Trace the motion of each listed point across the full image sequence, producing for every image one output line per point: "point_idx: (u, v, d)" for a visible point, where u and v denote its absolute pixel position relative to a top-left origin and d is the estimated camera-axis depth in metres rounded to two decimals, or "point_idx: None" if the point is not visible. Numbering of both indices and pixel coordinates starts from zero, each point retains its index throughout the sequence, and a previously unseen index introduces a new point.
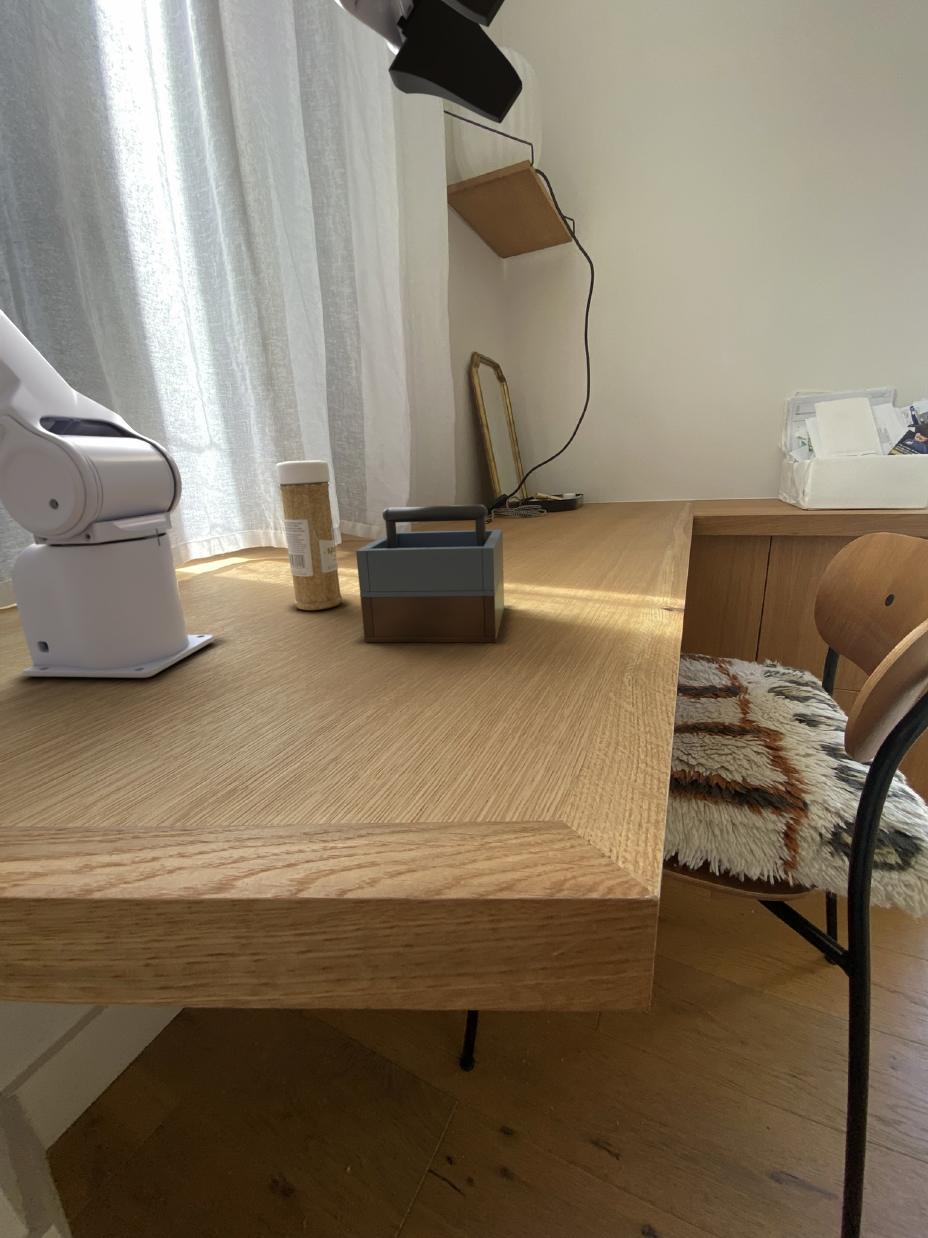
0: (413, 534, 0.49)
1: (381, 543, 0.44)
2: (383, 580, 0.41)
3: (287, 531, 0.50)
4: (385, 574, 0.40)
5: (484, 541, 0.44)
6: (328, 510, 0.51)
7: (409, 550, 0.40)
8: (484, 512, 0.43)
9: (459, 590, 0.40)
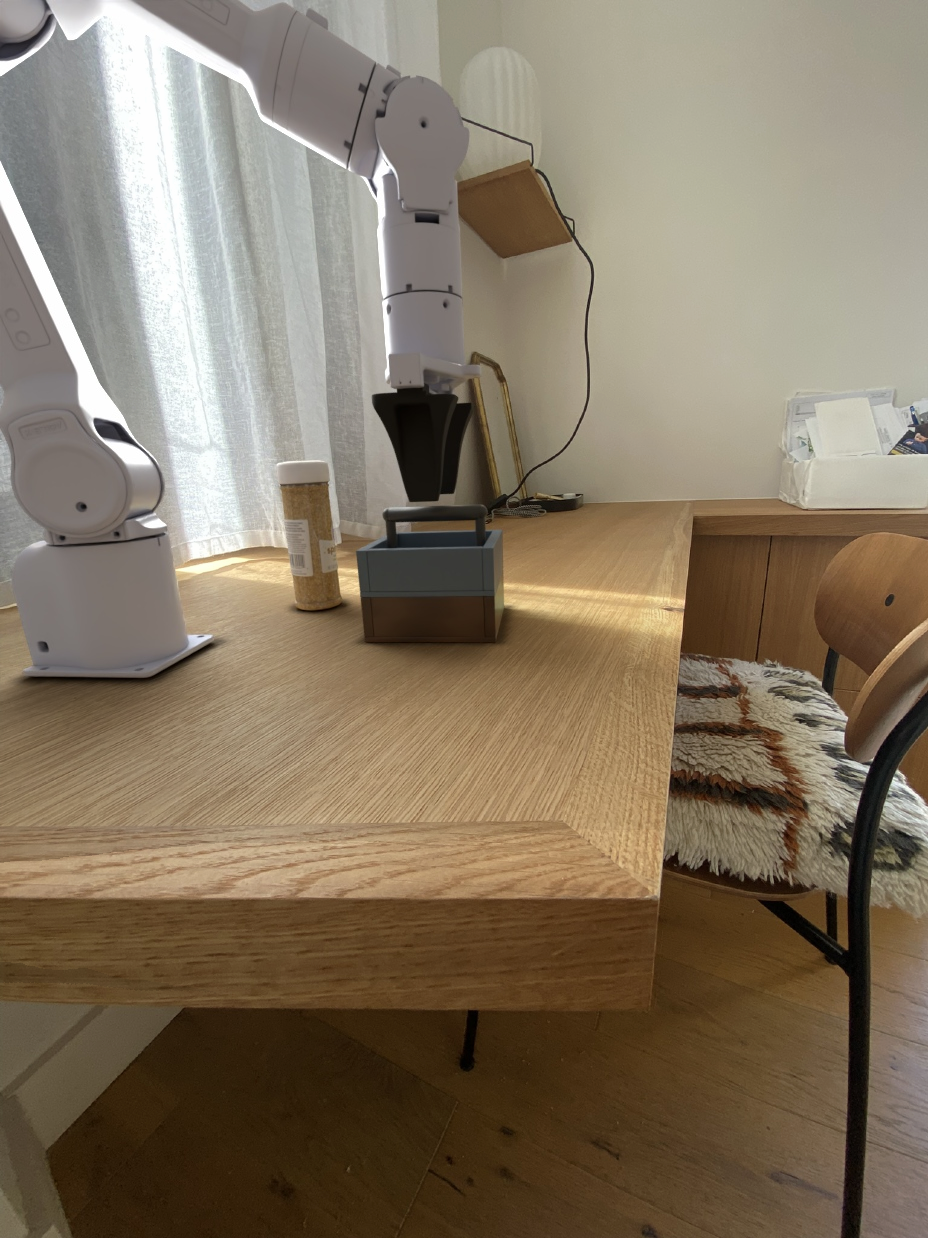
0: (413, 534, 0.49)
1: (381, 543, 0.44)
2: (383, 580, 0.41)
3: (287, 531, 0.50)
4: (385, 574, 0.40)
5: (484, 541, 0.44)
6: (328, 510, 0.51)
7: (409, 550, 0.40)
8: (484, 512, 0.43)
9: (459, 590, 0.40)
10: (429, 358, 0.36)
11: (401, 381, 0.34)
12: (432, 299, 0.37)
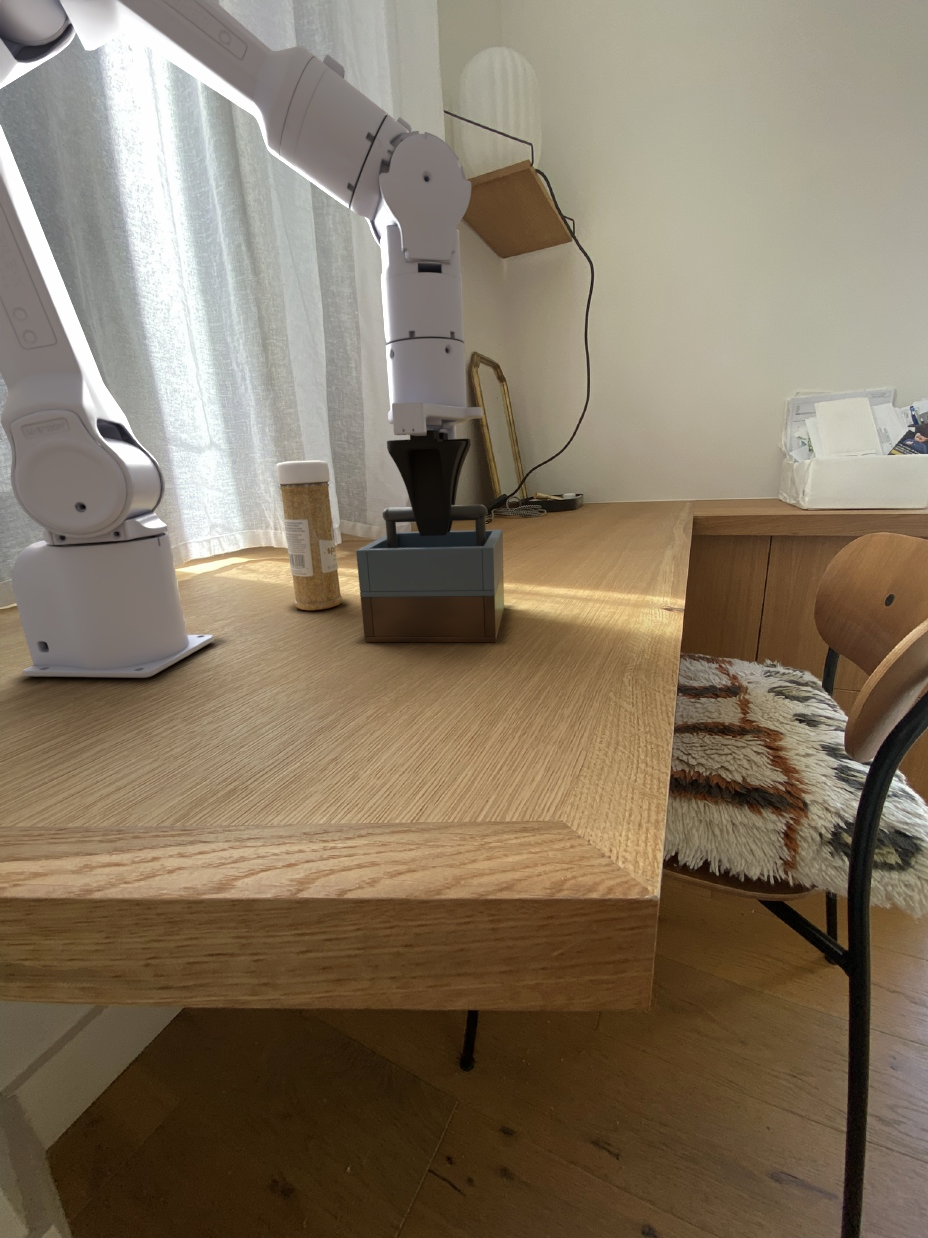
0: (413, 534, 0.49)
1: (381, 543, 0.44)
2: (383, 580, 0.41)
3: (287, 531, 0.50)
4: (385, 574, 0.40)
5: (484, 541, 0.44)
6: (328, 510, 0.51)
7: (409, 550, 0.40)
8: (484, 512, 0.43)
9: (459, 590, 0.40)
10: (432, 405, 0.36)
11: (404, 429, 0.35)
12: (434, 345, 0.38)
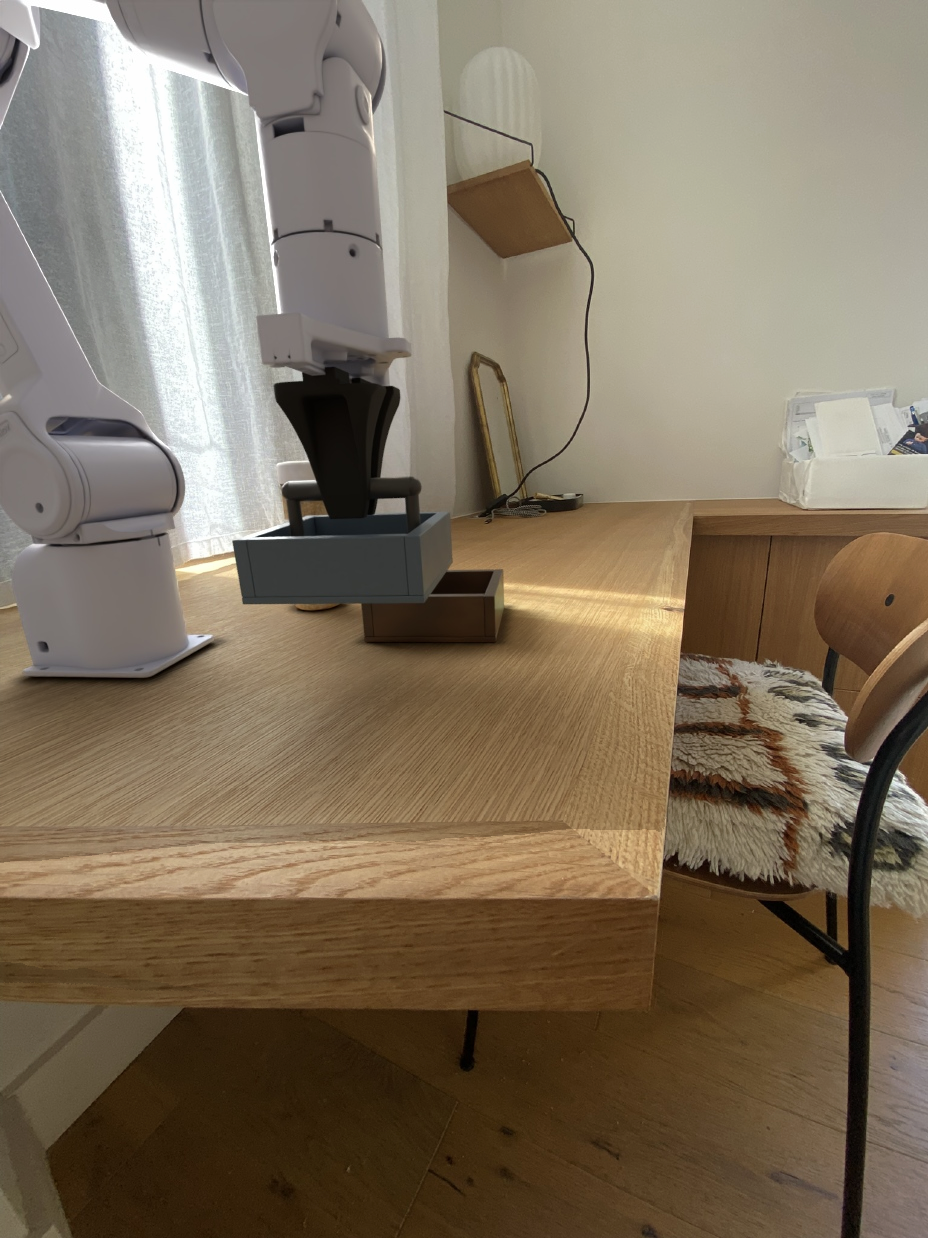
0: None
1: (280, 530, 0.33)
2: (272, 582, 0.29)
3: None
4: (274, 573, 0.29)
5: (418, 526, 0.32)
6: None
7: (304, 539, 0.28)
8: (416, 487, 0.31)
9: (375, 595, 0.29)
10: (322, 324, 0.25)
11: (276, 355, 0.24)
12: (332, 243, 0.27)
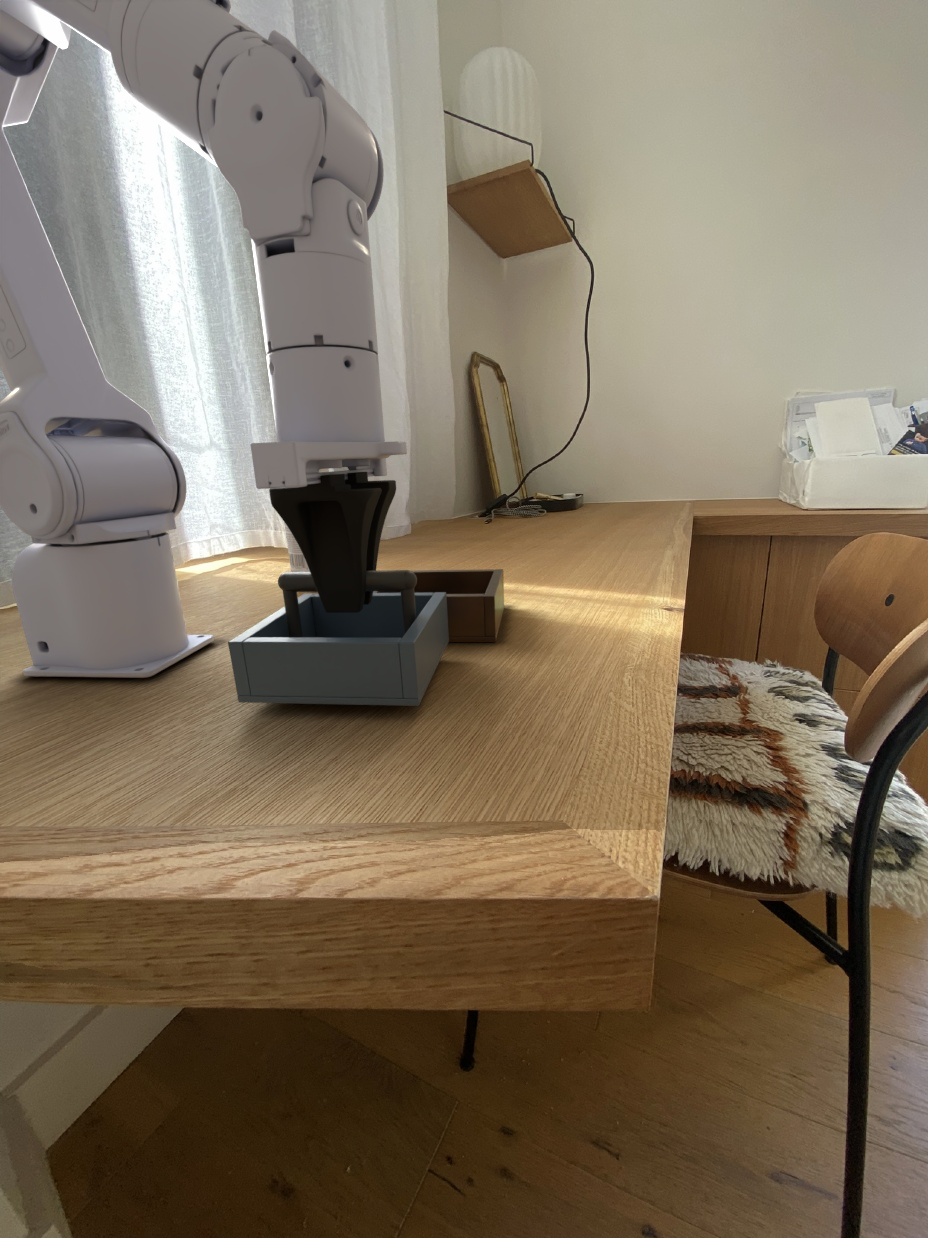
0: None
1: (276, 620, 0.33)
2: (267, 682, 0.29)
3: (287, 531, 0.50)
4: (269, 674, 0.29)
5: (413, 618, 0.32)
6: None
7: (299, 643, 0.29)
8: (411, 581, 0.32)
9: (370, 697, 0.29)
10: (316, 444, 0.25)
11: (271, 481, 0.24)
12: (327, 357, 0.27)
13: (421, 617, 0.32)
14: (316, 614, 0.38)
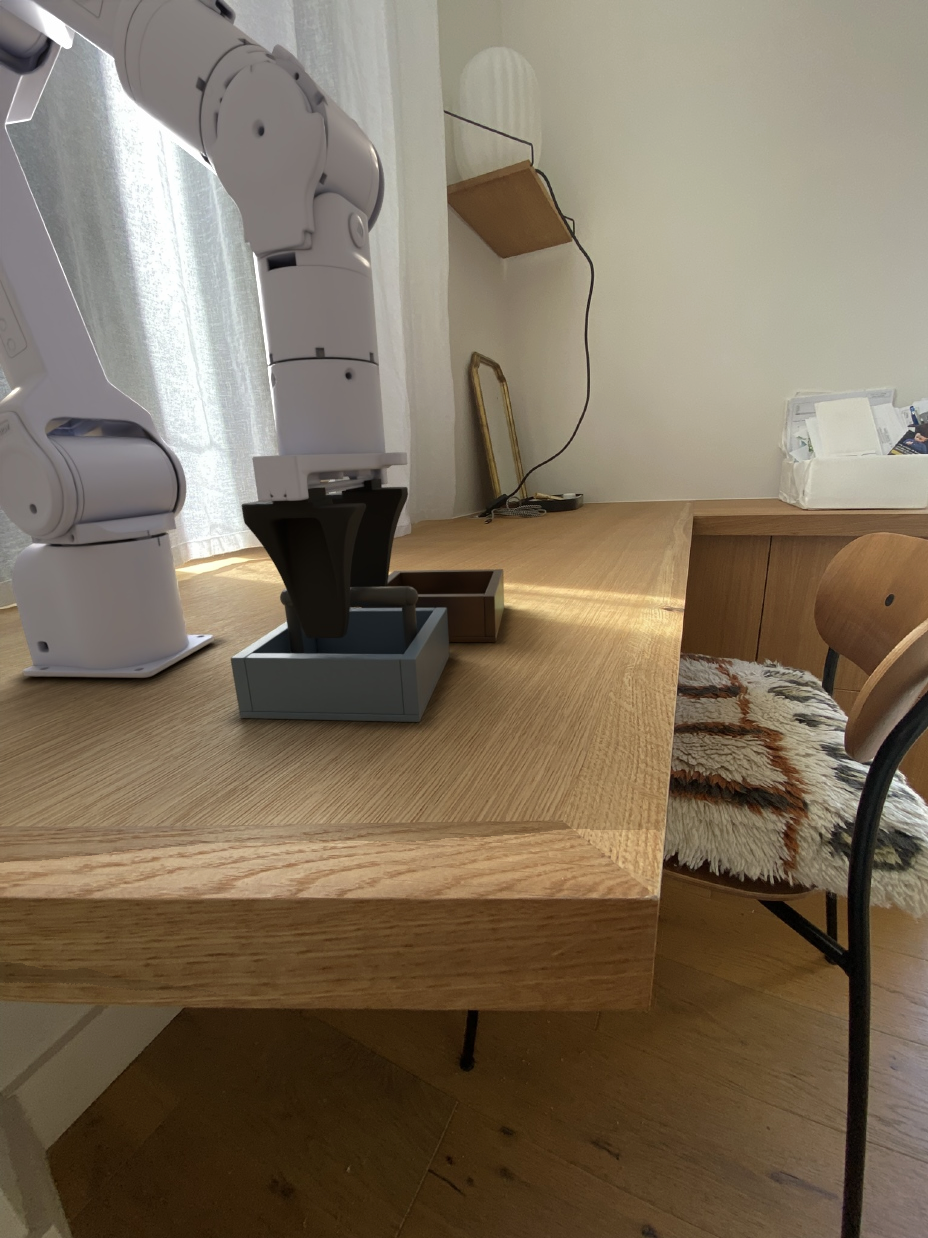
0: None
1: (278, 636, 0.33)
2: (269, 698, 0.30)
3: None
4: (271, 689, 0.30)
5: (414, 634, 0.33)
6: None
7: (301, 659, 0.29)
8: (413, 598, 0.32)
9: (371, 713, 0.29)
10: (317, 457, 0.25)
11: (273, 494, 0.24)
12: (329, 369, 0.27)
13: (422, 633, 0.32)
14: None
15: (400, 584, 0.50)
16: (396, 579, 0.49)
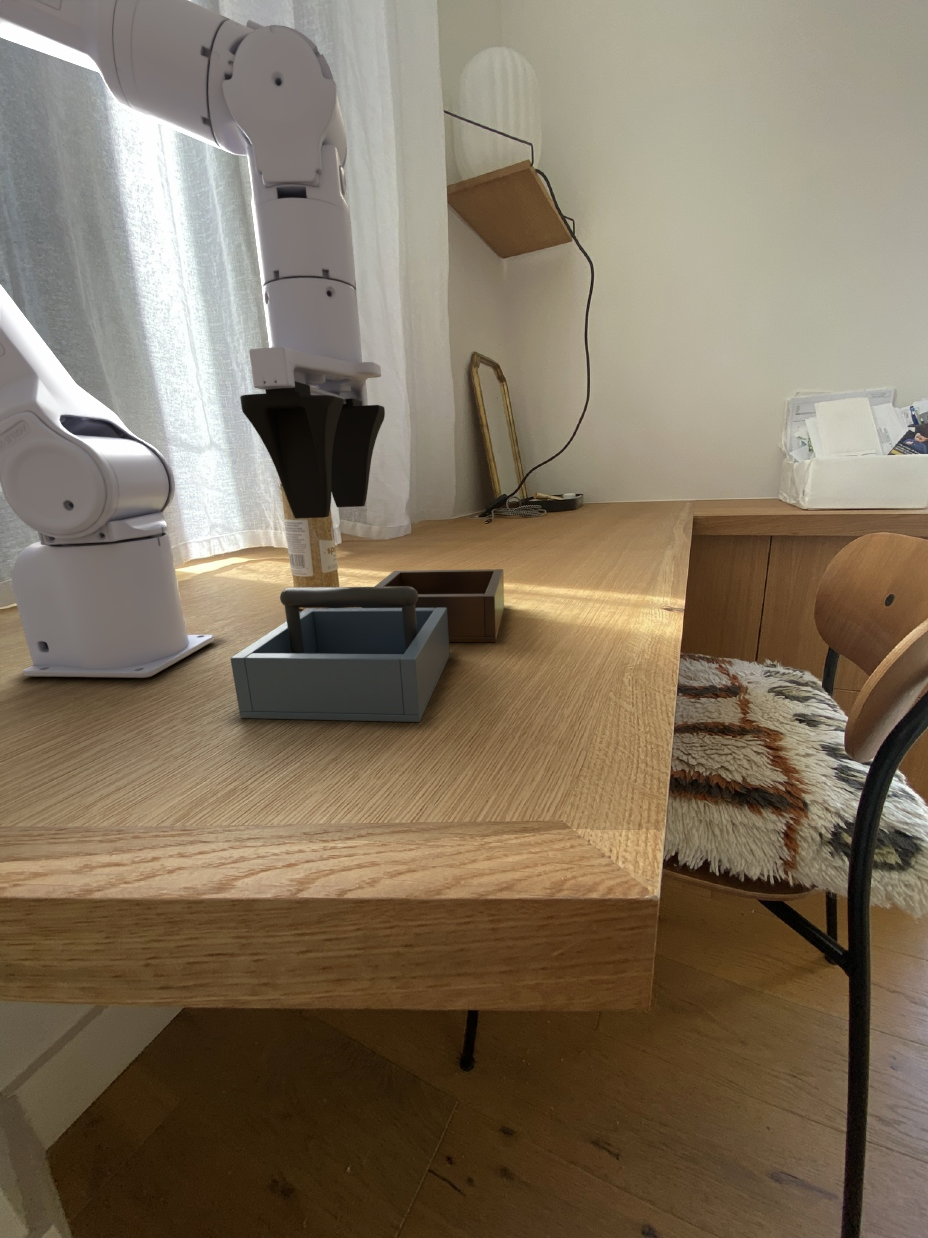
0: (332, 612, 0.38)
1: (278, 636, 0.33)
2: (269, 698, 0.30)
3: (287, 531, 0.50)
4: (271, 689, 0.30)
5: (414, 634, 0.33)
6: None
7: (301, 659, 0.29)
8: (413, 598, 0.32)
9: (371, 713, 0.29)
10: (302, 354, 0.31)
11: (265, 380, 0.30)
12: (312, 287, 0.32)
13: (422, 633, 0.32)
14: (317, 629, 0.38)
15: (400, 584, 0.50)
16: (396, 579, 0.49)
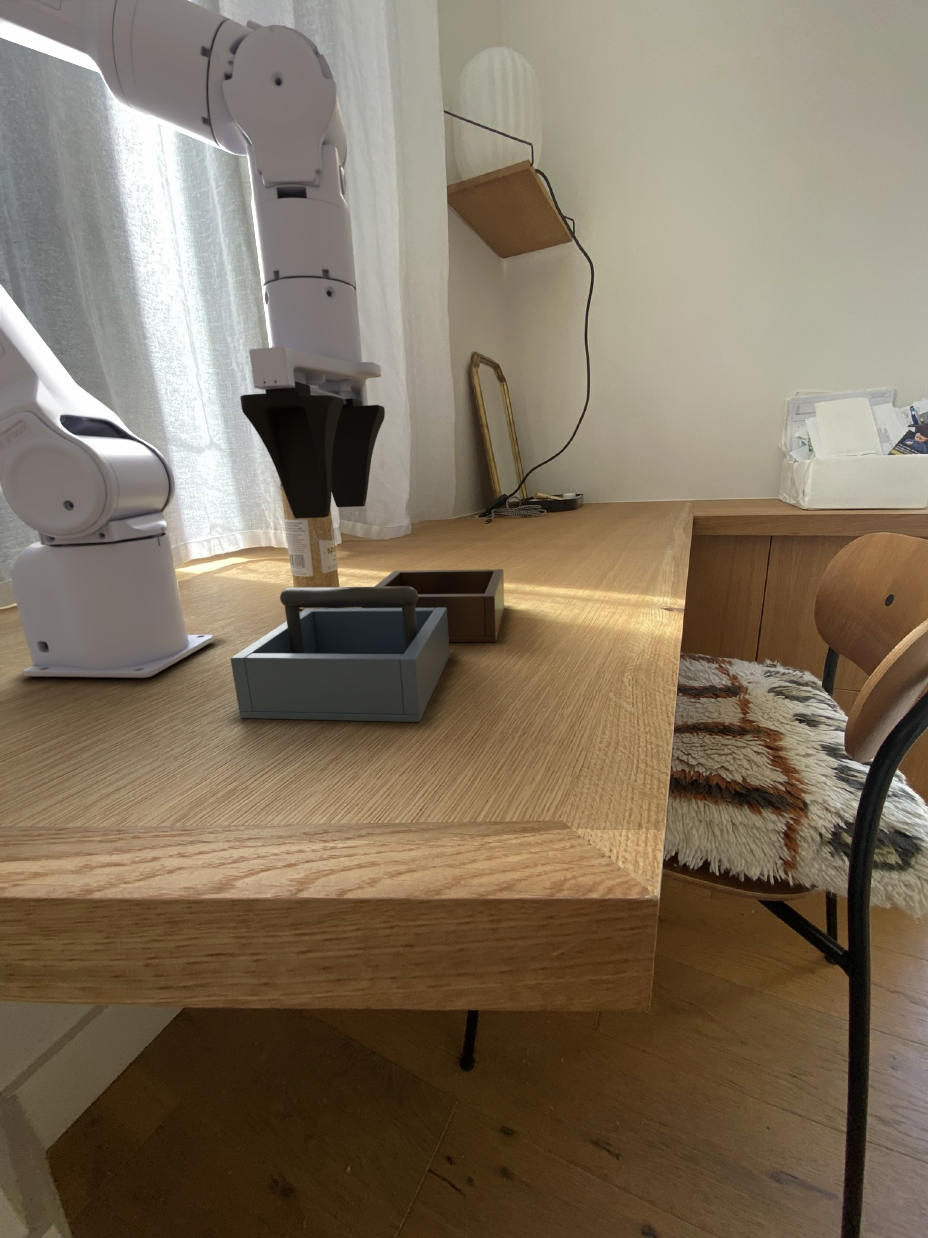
0: (332, 612, 0.38)
1: (278, 636, 0.33)
2: (269, 698, 0.30)
3: (287, 531, 0.50)
4: (271, 689, 0.30)
5: (414, 634, 0.33)
6: None
7: (301, 659, 0.29)
8: (413, 598, 0.32)
9: (371, 713, 0.29)
10: (302, 354, 0.31)
11: (265, 380, 0.30)
12: (312, 287, 0.32)
13: (422, 633, 0.32)
14: (317, 629, 0.38)
15: (400, 584, 0.50)
16: (396, 579, 0.49)
